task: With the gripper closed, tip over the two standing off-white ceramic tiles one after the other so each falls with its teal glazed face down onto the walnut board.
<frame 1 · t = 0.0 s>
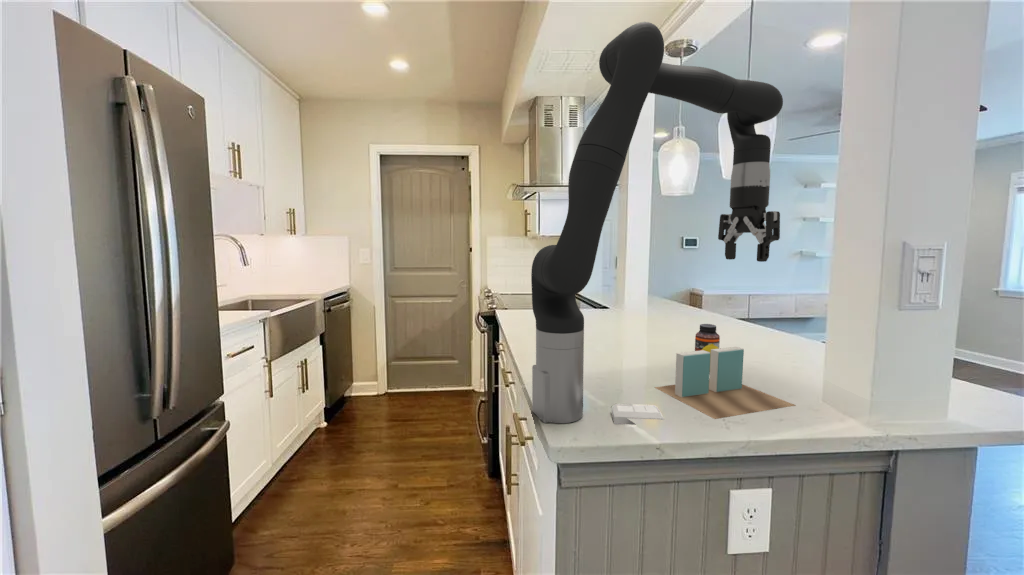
hand: (745, 260, 97), 29 cm above the worktop, tool pointing down, fingers open, 8 cm apart
lemon: (710, 375, 110), on the worktop
tile near: (691, 393, 94), point 1 cm above the worktop, touching board
board: (720, 401, 93), on the worktop
supplement bottle: (705, 367, 117), on the worktop
white light switch: (636, 422, 84), on the worktop
tile far: (725, 388, 97), point 1 cm above the worktop, touching board
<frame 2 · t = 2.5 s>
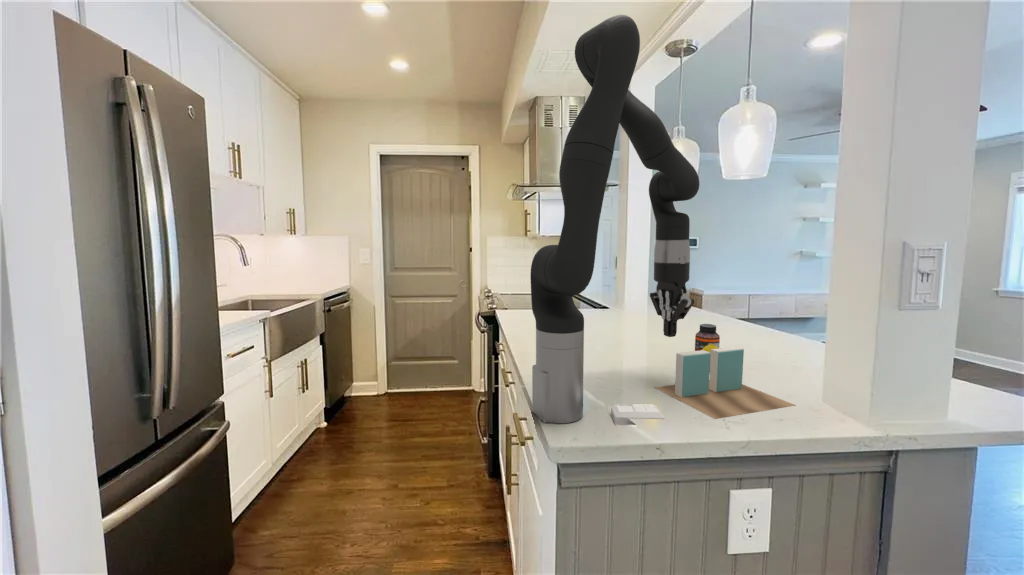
hand: (669, 336, 100), 12 cm above the worktop, tool pointing down, fingers closed
nothing on the worktop moved.
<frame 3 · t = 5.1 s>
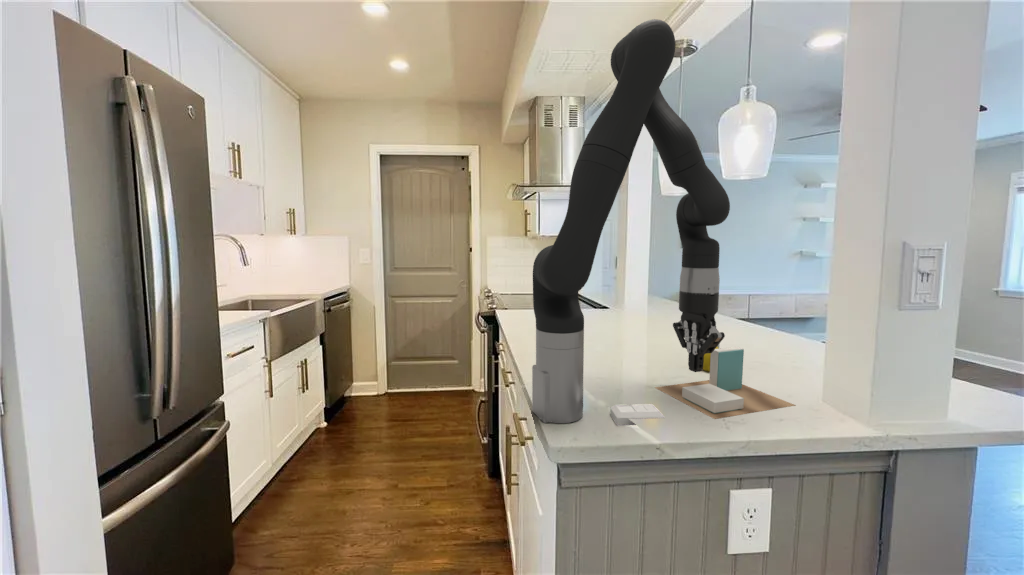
hand: (695, 370, 92), 7 cm above the worktop, tool pointing down, fingers closed
tile near: (695, 390, 93), point 2 cm above the worktop, tilted 90°, touching board
everything else where it was.
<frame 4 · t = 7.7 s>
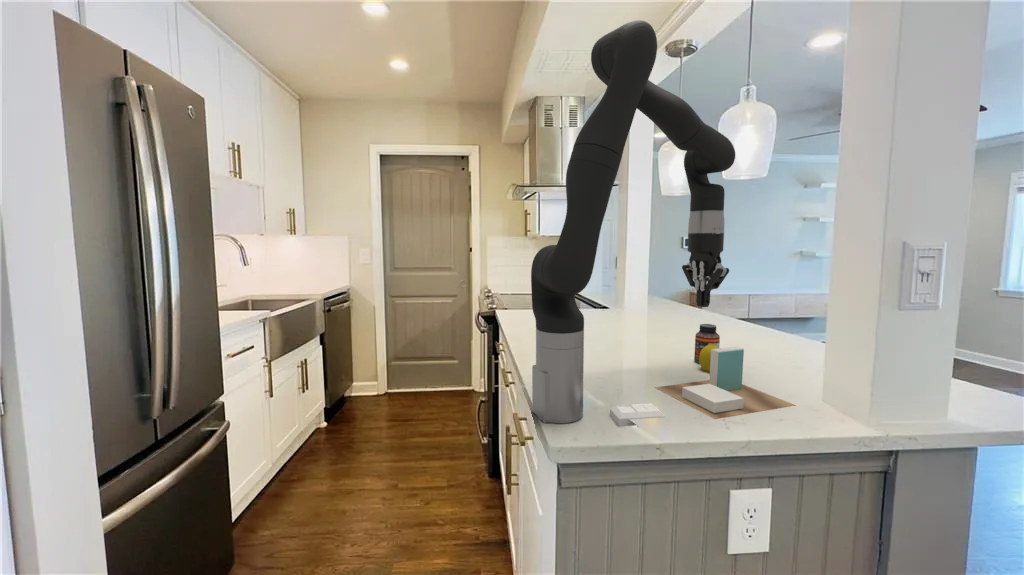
hand: (702, 306, 102), 18 cm above the worktop, tool pointing down, fingers closed
nothing on the worktop moved.
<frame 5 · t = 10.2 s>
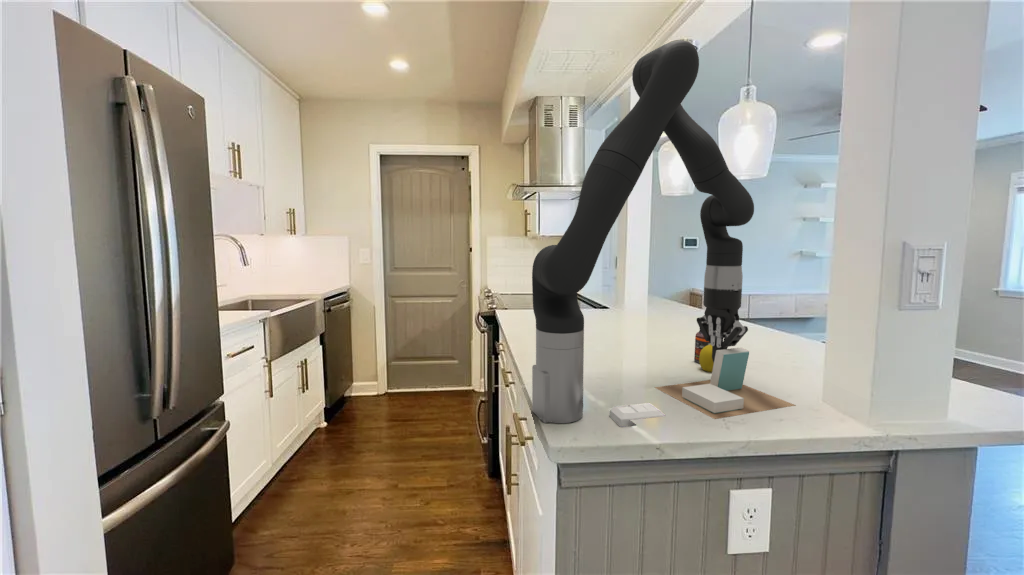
hand: (719, 362, 98), 7 cm above the worktop, tool pointing down, fingers closed
tile far: (725, 388, 97), point 1 cm above the worktop, tilted 10°, touching board
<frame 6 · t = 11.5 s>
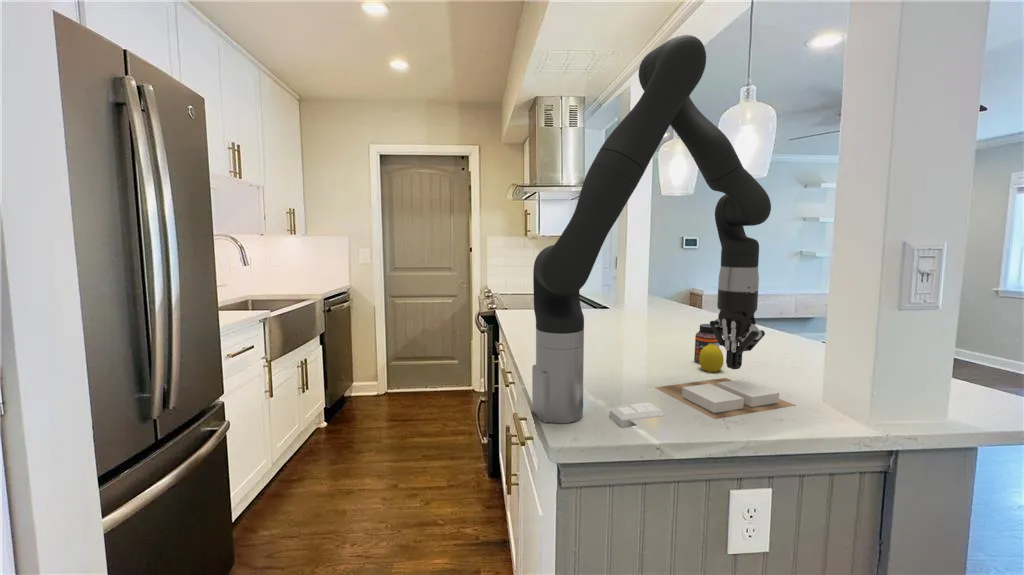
hand: (733, 368, 94), 6 cm above the worktop, tool pointing down, fingers closed
tile far: (729, 385, 95), point 2 cm above the worktop, tilted 90°, touching board
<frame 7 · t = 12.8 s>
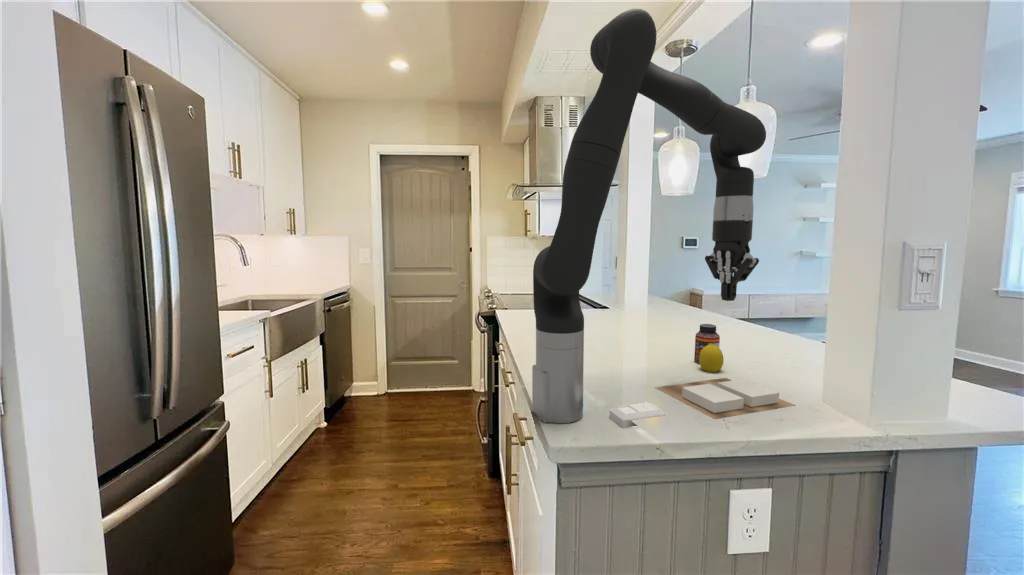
hand: (728, 300, 94), 21 cm above the worktop, tool pointing down, fingers closed
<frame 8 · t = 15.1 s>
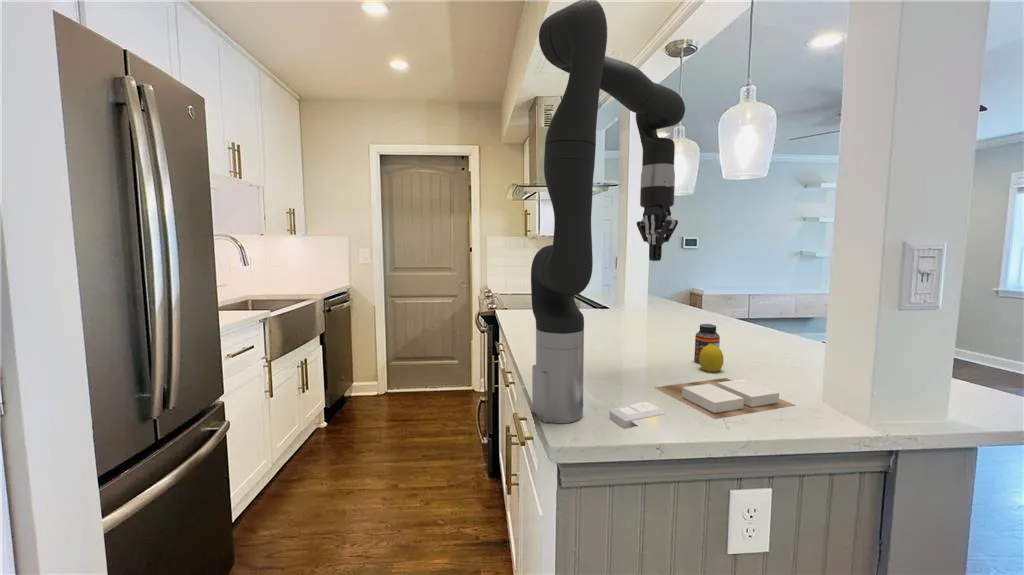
hand: (655, 260, 104), 29 cm above the worktop, tool pointing down, fingers closed
at the end: tile near tilted 90°; tile far tilted 90°; tile near inside the target area (5.5 cm from its centre), point 2.4 cm above the worktop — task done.
